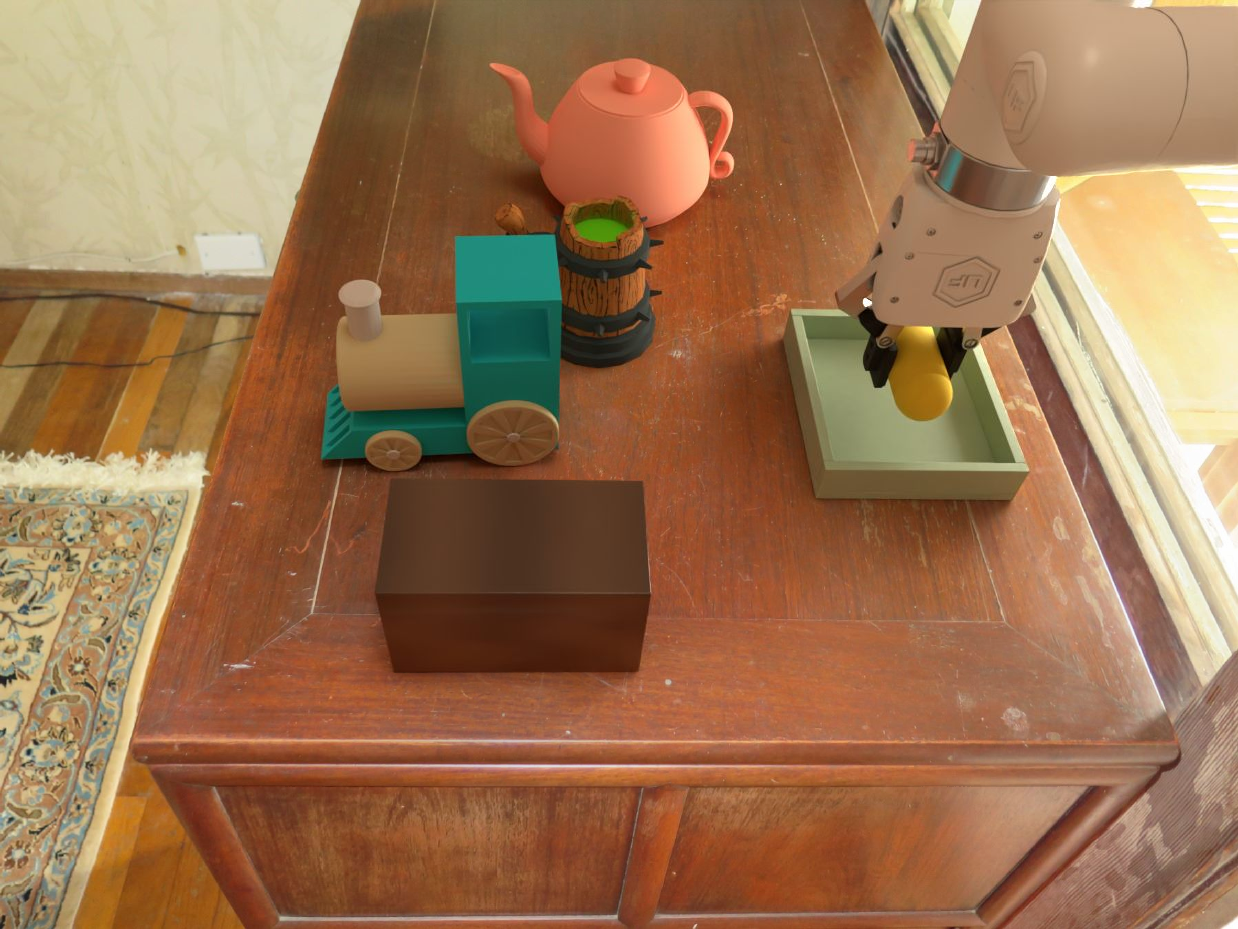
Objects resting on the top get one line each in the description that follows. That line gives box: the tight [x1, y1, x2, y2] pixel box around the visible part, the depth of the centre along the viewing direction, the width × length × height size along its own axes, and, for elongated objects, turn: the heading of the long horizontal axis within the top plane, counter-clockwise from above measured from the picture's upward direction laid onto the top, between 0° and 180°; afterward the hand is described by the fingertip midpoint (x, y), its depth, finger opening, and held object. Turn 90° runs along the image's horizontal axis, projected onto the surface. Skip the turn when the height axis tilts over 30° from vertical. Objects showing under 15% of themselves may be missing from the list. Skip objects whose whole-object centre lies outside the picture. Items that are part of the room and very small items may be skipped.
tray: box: [782, 308, 1030, 501], centre depth 75 cm, size 17×15×3 cm
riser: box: [374, 477, 652, 673], centre depth 60 cm, size 15×8×9 cm, turn 92°
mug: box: [493, 195, 665, 369], centre depth 76 cm, size 13×10×12 cm
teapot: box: [489, 57, 735, 229], centre depth 88 cm, size 22×16×12 cm
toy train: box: [320, 234, 562, 472], centre depth 67 cm, size 8×17×15 cm, turn 96°
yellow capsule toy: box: [888, 326, 953, 422], centre depth 72 cm, size 11×4×4 cm, turn 2°
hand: (906, 373), depth 73 cm, fingers closed on yellow capsule toy, 4 cm apart
